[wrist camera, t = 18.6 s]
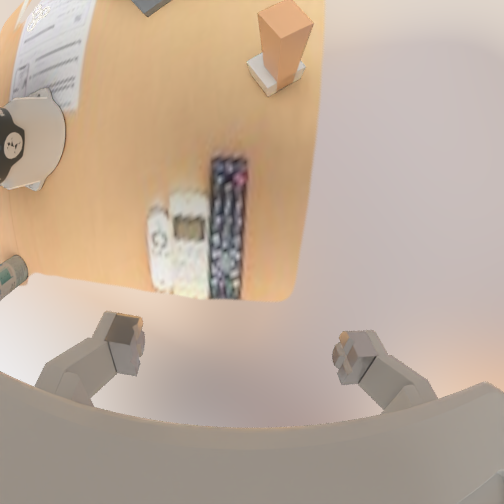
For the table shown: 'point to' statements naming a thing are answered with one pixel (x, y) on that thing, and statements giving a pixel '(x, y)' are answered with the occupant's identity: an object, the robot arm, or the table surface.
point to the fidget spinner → (38, 16)
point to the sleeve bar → (280, 46)
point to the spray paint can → (12, 275)
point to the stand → (149, 5)
